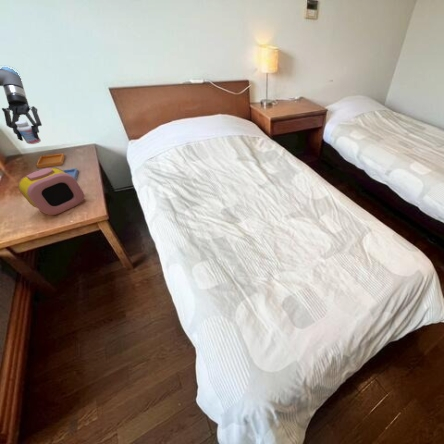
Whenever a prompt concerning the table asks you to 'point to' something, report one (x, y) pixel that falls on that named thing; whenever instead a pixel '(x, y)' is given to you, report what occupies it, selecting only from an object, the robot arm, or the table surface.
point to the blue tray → (72, 172)
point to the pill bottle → (26, 132)
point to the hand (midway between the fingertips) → (28, 139)
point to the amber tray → (50, 160)
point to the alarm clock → (51, 190)
